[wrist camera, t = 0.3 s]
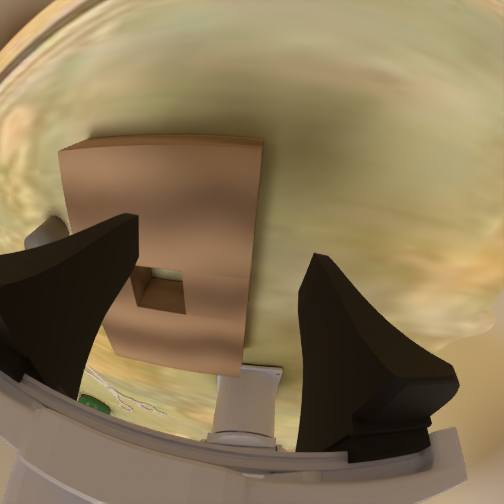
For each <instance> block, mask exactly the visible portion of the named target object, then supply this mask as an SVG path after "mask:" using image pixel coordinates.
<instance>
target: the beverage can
mask: <svg viewBox="0 0 504 504" xmlns="http://www.w3.org/2000/svg"><path fill="white" fill-rule="evenodd" d="M78 402H80V403H82V404H84V405H86V406H89V407H91V408H93V409H96V410H98V411H101V412H103V413H106V414H108V415H110V412H109V410H110V409H109V408H108V407H107V406H106V405H105V404H104V403H102V402H101V401H99V400H97V399H95V398H93V397H91V396H88V395H83V396H82V397H80V398H79V400H78Z"/></svg>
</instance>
